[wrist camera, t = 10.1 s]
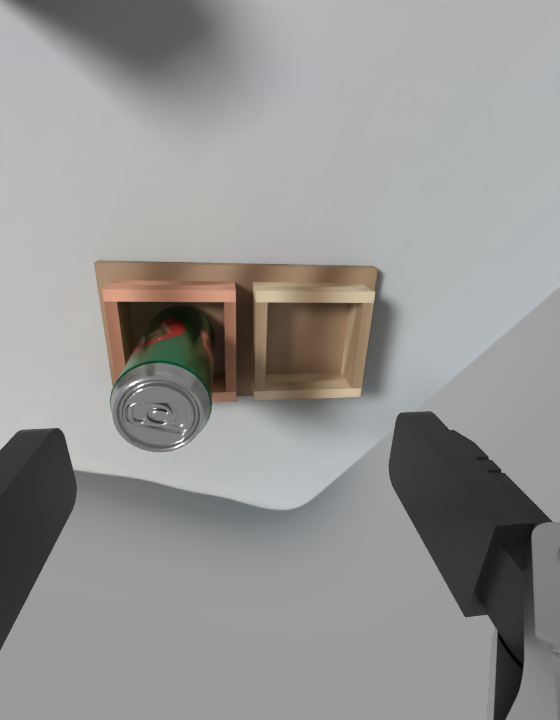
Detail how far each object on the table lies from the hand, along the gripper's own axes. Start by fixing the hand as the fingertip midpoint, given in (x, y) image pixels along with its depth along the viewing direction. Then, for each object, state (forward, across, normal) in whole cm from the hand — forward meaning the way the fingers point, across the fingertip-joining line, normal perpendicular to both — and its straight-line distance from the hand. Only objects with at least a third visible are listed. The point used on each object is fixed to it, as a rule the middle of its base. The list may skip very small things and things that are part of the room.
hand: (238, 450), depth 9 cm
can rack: (+22, -1, +4) cm, 22 cm away
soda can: (+21, +4, +4) cm, 22 cm away
